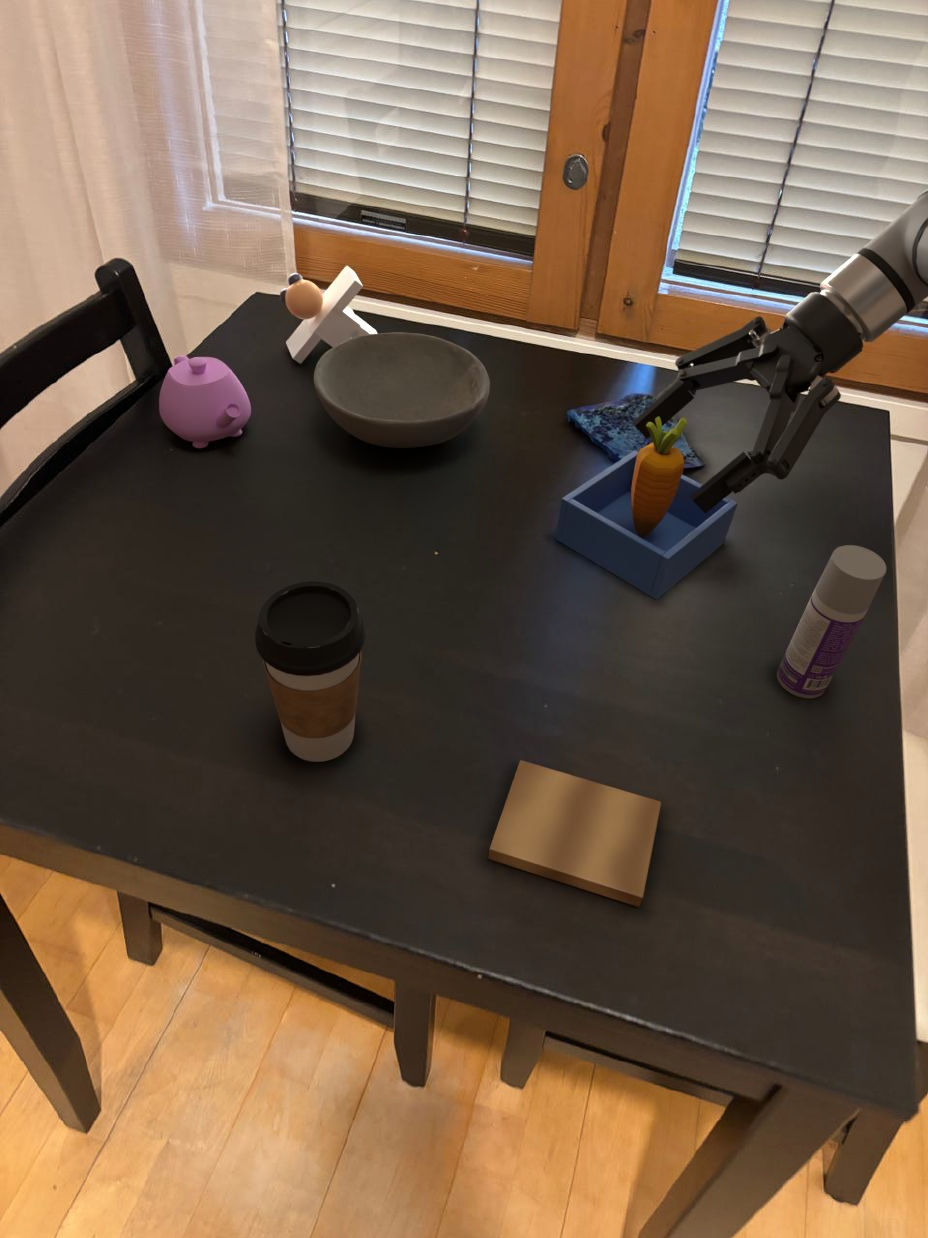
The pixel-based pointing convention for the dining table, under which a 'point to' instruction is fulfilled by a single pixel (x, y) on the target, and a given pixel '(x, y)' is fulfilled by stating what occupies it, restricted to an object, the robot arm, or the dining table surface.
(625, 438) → the blue flat piece
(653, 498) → the carrot
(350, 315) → the figurine
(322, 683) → the coffee cup
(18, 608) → the dining table surface
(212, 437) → the teapot
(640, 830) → the board
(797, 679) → the container
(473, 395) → the bowl
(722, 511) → the bin
